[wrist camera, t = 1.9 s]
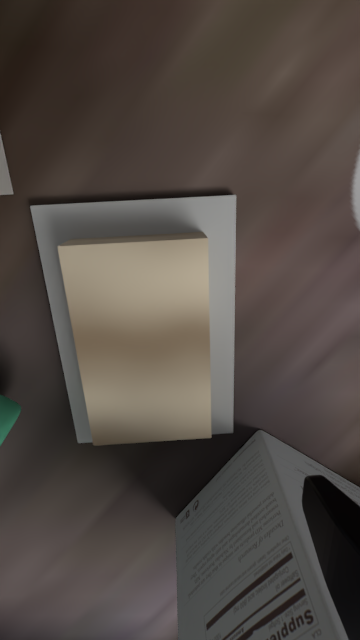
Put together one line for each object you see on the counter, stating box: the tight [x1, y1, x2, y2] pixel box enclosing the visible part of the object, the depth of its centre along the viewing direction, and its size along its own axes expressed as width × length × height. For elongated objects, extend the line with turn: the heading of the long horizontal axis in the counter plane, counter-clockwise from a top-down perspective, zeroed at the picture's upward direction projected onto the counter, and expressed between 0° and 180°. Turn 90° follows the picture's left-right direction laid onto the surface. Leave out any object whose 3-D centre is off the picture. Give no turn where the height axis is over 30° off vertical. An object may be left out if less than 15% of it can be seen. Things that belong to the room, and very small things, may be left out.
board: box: [57, 232, 212, 446], centre depth 16 cm, size 10×6×2 cm, turn 3°
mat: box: [30, 195, 236, 443], centre depth 17 cm, size 13×9×1 cm
